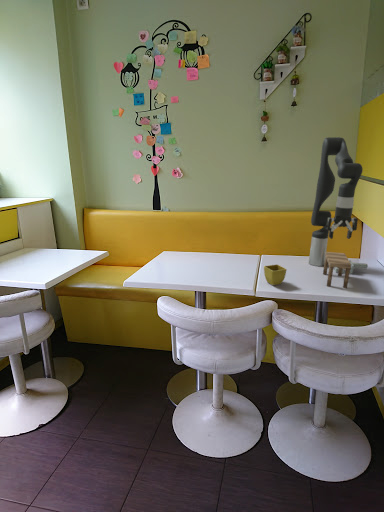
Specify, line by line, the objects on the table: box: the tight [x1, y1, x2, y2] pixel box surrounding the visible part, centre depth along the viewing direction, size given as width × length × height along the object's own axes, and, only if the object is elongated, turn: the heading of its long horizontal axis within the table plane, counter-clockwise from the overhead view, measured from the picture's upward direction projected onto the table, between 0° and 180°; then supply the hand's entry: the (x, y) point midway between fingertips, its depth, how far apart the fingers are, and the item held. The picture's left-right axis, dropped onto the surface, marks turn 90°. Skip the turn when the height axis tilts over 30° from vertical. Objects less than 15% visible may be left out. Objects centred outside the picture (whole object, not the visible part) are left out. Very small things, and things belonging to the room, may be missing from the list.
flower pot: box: [263, 264, 288, 286], centre depth 181 cm, size 9×9×9 cm
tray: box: [333, 259, 369, 275], centre depth 200 cm, size 10×17×6 cm, turn 76°
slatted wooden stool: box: [322, 251, 351, 289], centre depth 185 cm, size 20×10×13 cm, turn 166°
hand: (339, 238), depth 170 cm, fingers open, 8 cm apart
